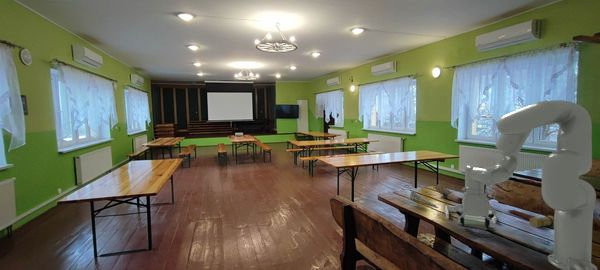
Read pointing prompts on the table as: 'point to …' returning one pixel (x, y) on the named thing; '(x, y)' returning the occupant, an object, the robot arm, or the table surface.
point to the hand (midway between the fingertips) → (474, 226)
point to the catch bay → (451, 208)
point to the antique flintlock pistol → (447, 193)
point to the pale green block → (473, 222)
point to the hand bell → (487, 198)
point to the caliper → (421, 198)
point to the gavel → (535, 219)
